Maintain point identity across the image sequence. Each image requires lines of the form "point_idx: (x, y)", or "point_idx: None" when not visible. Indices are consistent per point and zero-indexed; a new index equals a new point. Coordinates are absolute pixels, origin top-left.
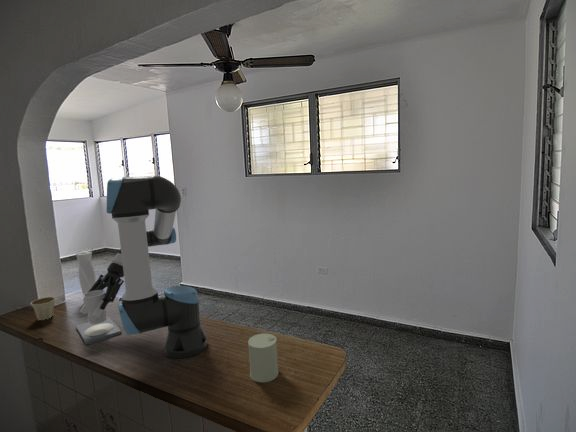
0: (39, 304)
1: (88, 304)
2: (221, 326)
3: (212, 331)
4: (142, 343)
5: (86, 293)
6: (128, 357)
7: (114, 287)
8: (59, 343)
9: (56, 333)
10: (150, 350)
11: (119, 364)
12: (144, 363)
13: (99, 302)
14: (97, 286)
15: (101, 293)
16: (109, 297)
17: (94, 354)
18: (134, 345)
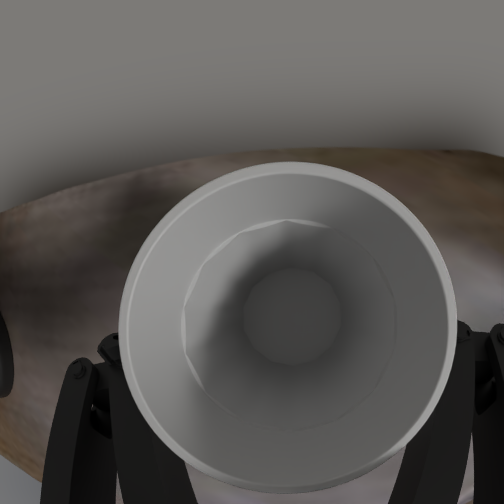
0: None
1: (256, 225)
2: (15, 454)
3: (8, 430)
4: (56, 326)
5: (432, 262)
6: (37, 250)
7: (45, 495)
8: (343, 157)
9: (451, 196)
10: (22, 305)
11: (35, 218)
12: (5, 256)
13: (177, 317)
14: (460, 481)
15: (326, 449)
16: (67, 379)
17: (123, 197)
18: (63, 306)
